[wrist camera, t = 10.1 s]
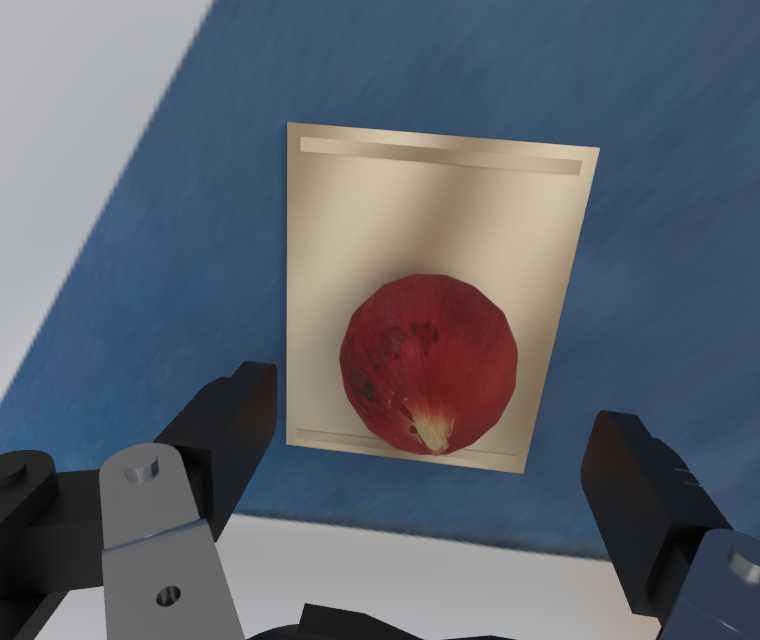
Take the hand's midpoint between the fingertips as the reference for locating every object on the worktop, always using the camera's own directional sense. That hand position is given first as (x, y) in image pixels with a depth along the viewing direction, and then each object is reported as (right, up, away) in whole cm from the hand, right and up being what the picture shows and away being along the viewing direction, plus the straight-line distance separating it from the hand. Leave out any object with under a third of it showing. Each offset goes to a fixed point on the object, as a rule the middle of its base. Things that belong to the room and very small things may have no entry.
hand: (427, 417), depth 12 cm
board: (0, +3, +9) cm, 9 cm away
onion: (+1, +2, +8) cm, 8 cm away
